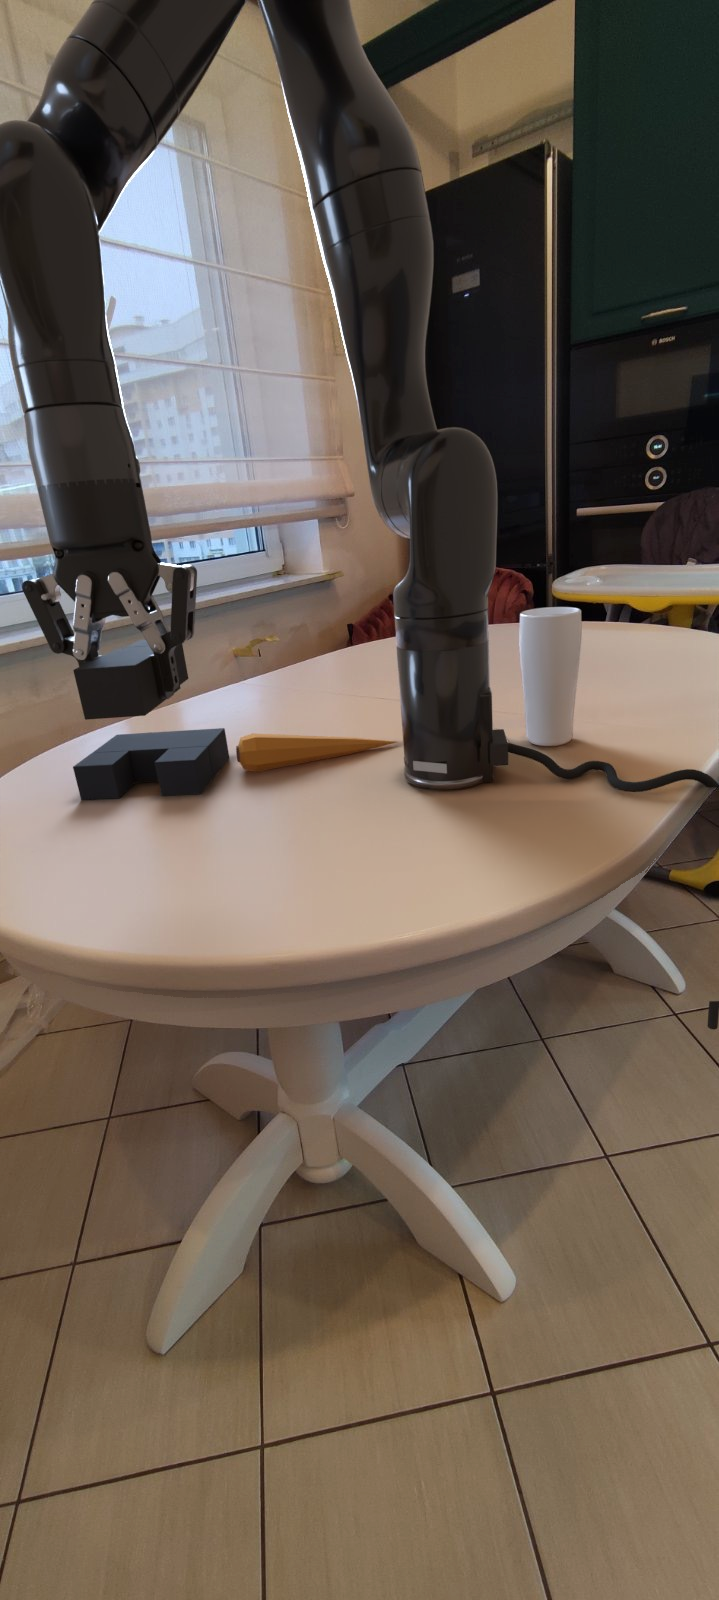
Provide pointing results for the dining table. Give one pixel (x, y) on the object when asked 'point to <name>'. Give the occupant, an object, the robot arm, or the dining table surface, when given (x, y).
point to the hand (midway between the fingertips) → (135, 698)
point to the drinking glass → (550, 672)
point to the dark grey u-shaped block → (153, 763)
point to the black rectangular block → (123, 682)
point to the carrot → (296, 749)
